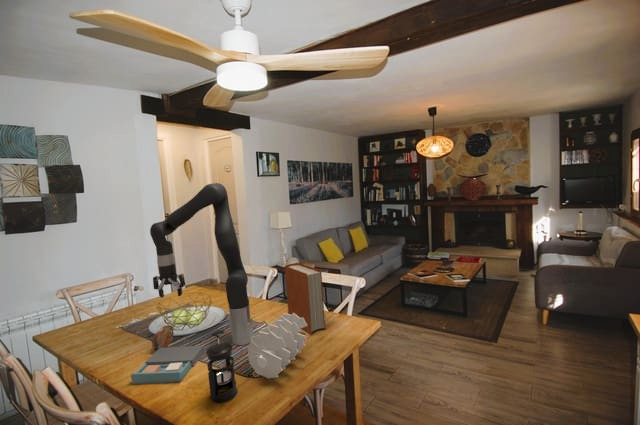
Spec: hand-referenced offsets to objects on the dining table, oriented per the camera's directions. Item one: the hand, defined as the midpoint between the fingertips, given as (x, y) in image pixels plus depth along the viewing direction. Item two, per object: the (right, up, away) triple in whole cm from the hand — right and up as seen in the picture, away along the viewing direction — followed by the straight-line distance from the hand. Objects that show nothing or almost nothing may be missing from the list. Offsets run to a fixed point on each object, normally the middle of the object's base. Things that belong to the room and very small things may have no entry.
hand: (171, 296), depth 160 cm
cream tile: (+13, -24, -26) cm, 38 cm away
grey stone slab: (+9, -24, -15) cm, 30 cm away
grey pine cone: (+55, -22, -24) cm, 64 cm away
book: (+64, -18, +11) cm, 67 cm away
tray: (+9, -25, -27) cm, 37 cm away
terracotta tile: (+4, -24, -27) cm, 36 cm away
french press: (+37, -25, -42) cm, 61 cm away
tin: (-2, -23, -2) cm, 24 cm away
